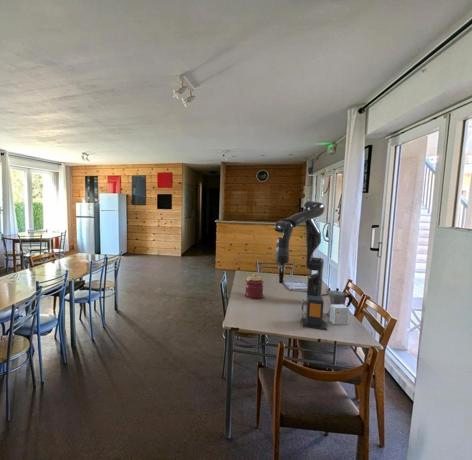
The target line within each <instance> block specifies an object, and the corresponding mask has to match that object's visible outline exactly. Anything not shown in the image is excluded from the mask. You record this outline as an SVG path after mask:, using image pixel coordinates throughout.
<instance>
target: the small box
mask: <svg viewBox="0 0 472 460" xmlns="http://www.w3.org/2000/svg"><path fill="white" fill-rule="evenodd" d="M345 305H346V304H345ZM345 305H344V303H343V304H335V305H330V304H329V307H330V316H329V322H330V323H331V324H332V325H335V326H339V325H340V326H342V325H343V326H344V325H345V326H346V325H349V324H348V323H349V322H348V321H349V307H346V306H345Z"/></svg>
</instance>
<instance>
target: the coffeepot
mask: <svg viewBox="0 0 472 460" xmlns="http://www.w3.org/2000/svg"><path fill="white" fill-rule="evenodd" d="M325 292H326V294H328V295H327V296H328V298H329V303H330V304H329V307H328V311H327V316H328V317H330V305H335V304H343V305H344V302H345V298H349V299H348V302H347V303H346V304H345V306H346V307H348V308H349V307H350V306H351V304H352V302H353V300H354V297H353V296H352V295H351V294H349V293H346V292H344V291H340V288H339V287H336V288H335V290H330V291H329V290H325Z"/></svg>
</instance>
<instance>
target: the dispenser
mask: <svg viewBox="0 0 472 460" xmlns="http://www.w3.org/2000/svg"><path fill="white" fill-rule="evenodd" d="M306 299H307V303H306V307H305V311H302V313H303V315H305V317H301V322H302V327H304V328H309V329H316V330H323V331H327V326H326V323H325V320H323V317H324V316H323V315H324V299H323V296H321V297H319V296H310V295H307V294H306Z"/></svg>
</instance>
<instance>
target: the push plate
mask: <svg viewBox="0 0 472 460" xmlns="http://www.w3.org/2000/svg"><path fill="white" fill-rule="evenodd" d="M304 305H305V301H304V298H301V299H300V310H301V311H302V312H304Z"/></svg>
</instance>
